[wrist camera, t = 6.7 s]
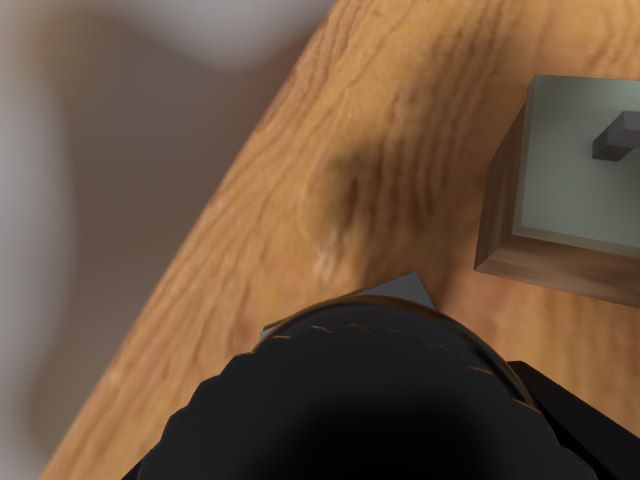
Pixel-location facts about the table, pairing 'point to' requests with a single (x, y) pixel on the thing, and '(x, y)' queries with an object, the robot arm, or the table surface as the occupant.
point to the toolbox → (568, 191)
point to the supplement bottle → (364, 405)
